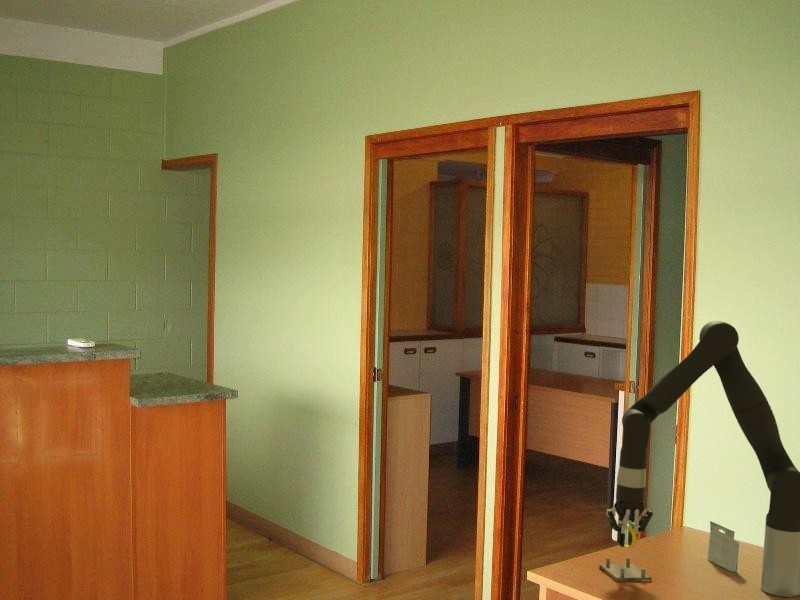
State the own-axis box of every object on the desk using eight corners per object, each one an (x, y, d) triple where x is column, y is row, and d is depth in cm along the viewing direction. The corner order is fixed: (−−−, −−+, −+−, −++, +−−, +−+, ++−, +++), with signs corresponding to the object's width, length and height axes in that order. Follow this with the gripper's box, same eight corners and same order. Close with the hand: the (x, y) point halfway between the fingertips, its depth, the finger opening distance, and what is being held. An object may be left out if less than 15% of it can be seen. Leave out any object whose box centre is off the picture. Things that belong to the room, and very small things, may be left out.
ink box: (738, 572, 261) (741, 531, 260) (731, 572, 260) (734, 532, 260) (713, 559, 272) (716, 520, 271) (706, 559, 271) (709, 520, 271)
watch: (637, 549, 251) (639, 527, 251) (630, 550, 250) (632, 528, 249) (621, 543, 256) (623, 521, 256) (614, 543, 255) (616, 522, 255)
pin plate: (632, 567, 260) (633, 556, 259) (651, 581, 249) (652, 570, 249) (599, 568, 257) (600, 557, 257) (616, 581, 247) (617, 570, 247)
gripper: (613, 486, 247) (608, 550, 248) (661, 486, 250) (656, 550, 251) (601, 479, 254) (596, 541, 255) (648, 480, 257) (643, 541, 258)
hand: (626, 545), depth 253 cm, fingers closed on watch, 2 cm apart
